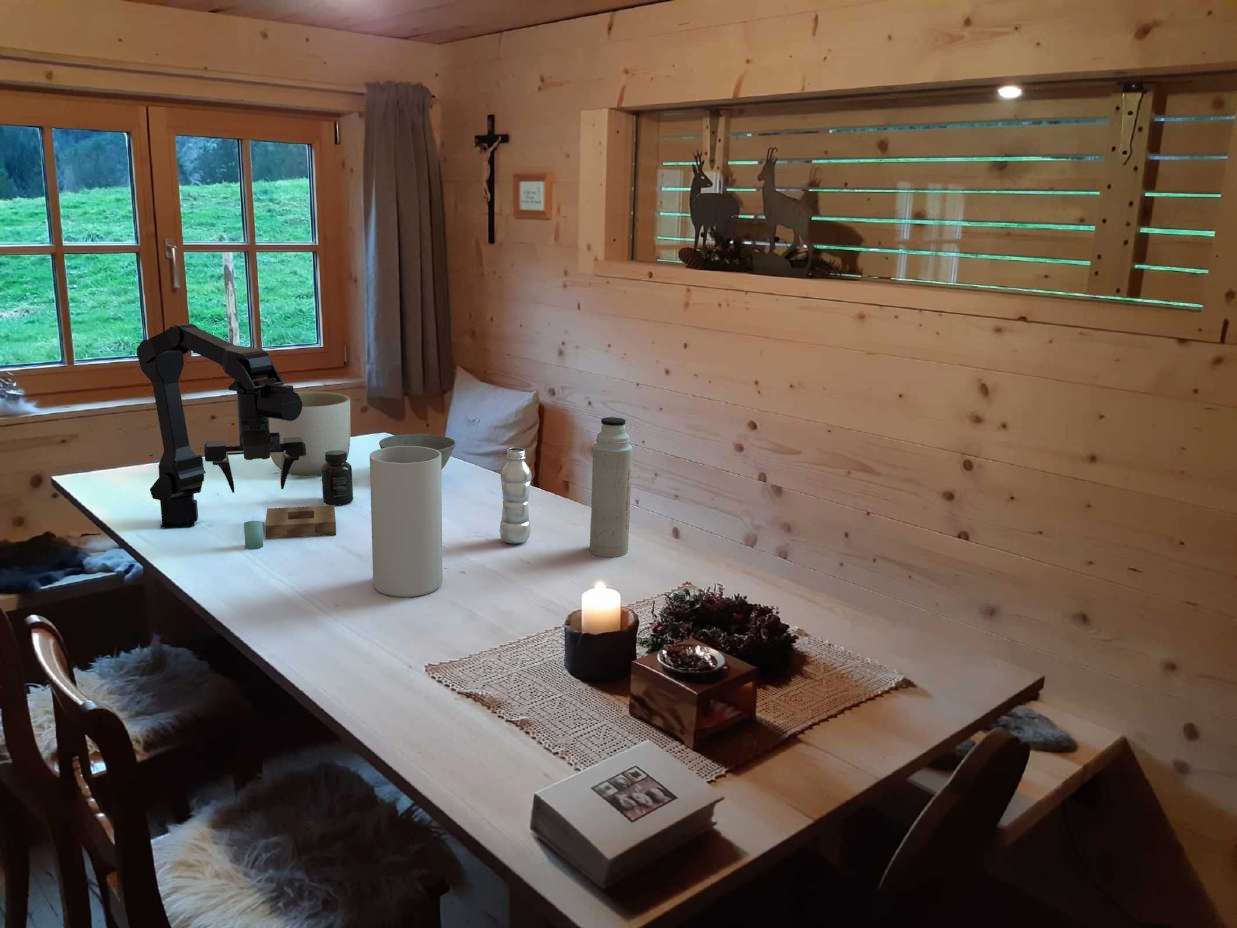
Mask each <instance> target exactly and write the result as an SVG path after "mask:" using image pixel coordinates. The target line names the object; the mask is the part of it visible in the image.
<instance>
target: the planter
mask: <svg viewBox="0 0 1237 928" xmlns="http://www.w3.org/2000/svg"><path fill="white" fill-rule="evenodd" d="M295 392H296V393H297V394H298V395H299V396H300V399H301V401H302V411H301V413H300V415H299V417H298V418H297V419H295V420H293V421H286V420H280V419H274V418H269V425H270V433H277V432H279V435H280V443H283V438H290V437H301V438H302V439H303V440H304V442H305V445H306V456H299V460H295V461H294V462H293V463H292V465H291V467H290V469H289V472H288V475H291V476H296V477H318V476H319V477H320V476H322V472H321V468H322V466H323V465H324V464H325V463H326V461H325V453H326V452H328V451H333V450H342V451H346V452H347V458H348V457H349V454H350V449H351V448H350V447H351V398H350V396H348V395H345V394H343V393H340V392H339V393H338V392H330V391H314V390H313V391H311V390H309V391H295ZM270 459H271V461H272V462H273V463H274V465H275V466H276V467H277V468H278V469H280V470H281V463H282V452H273V453H270Z"/></svg>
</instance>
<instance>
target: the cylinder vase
mask: <svg viewBox="0 0 1237 928" xmlns="http://www.w3.org/2000/svg"><path fill="white" fill-rule="evenodd" d="M442 470H443V469H442V468H441V452H439V451H438V450H435V449H432V448H427V447H418V446H397V447H388V448H382V449H381V448H379V449H376V450H373V451H372V452H370V454H369V479H370V483H369V484H370V486H369V487H370V513H371V514H370V515H371V516H370V517H371V518H370V519H371V520H370V522H371V552H372V553H371V555H372V557H371V559H372V581H373V582H372V584H373V587H374V589H376V591H378V592H379V593H381V594H383V595H386V596H390V597H396V598H397V597H398V598H410V597H411V598H413V597H420V596H425V595H427V594H431V593H433V592H435V591H436V590H438V589H439V588H440V587H441V586H442V584H443V502H442V500H443V497H442V495H443V493H442V488H443V487H442V483H443V482H442V477H443V476H442V475H443V474H442Z"/></svg>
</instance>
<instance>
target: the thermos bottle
mask: <svg viewBox="0 0 1237 928" xmlns="http://www.w3.org/2000/svg"><path fill="white" fill-rule="evenodd" d="M600 420H601V421H600V422H601V431H600V432H599V433H597V435H596V440H595V441H596V443H594V444H593V446H592V464H591V465H592V471H591V473H592V474H591V496H590V497H591V499H590V501H591V502H590V504H591V505H590V506H591V507H590V508H591V514H590V515H591V516H590V526H589V527H590V531H589V551H590V553H592V554H593V555H596V556H599V557H604V558H605V557H606V558H614V557H615V558H616V557H621V556H625V555H626V554H627V553H628V551H629V541H630V540H629V539H630V538H629V537H630V513H631V490H632V489H631V488H632V471H633V470H632V469H633V468H632V464H633V446H632V445H630V442H631V440H630V435H629V434H628V433H626V421H627V420H626V419H625V418H621V417H617V416H616V417H614V416H610V417H603V418H601V419H600Z"/></svg>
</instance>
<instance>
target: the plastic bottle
mask: <svg viewBox="0 0 1237 928" xmlns="http://www.w3.org/2000/svg"><path fill="white" fill-rule="evenodd" d="M506 452H507V453H506V459H507V462H506V463H505V464H504V465H503V468H502V469H501V472H500V484H501V489H502V511H501V519H500V520H501V521H500V524H499V534H500V535H499V536H500V538H501V540H502V542H504V543H508V544H521V543H525V542H527V541H528V540H529V538H530V537H531V536H530V535H531V532H532V531H531V530H532V529H531V522H530V516H529V515H530V514H529V495H530V487H531V483H532V472H531V469H530V467H529V465H528V463H527V462H525V460H526V450H525V448H521V447H510V448H507V450H506Z"/></svg>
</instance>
